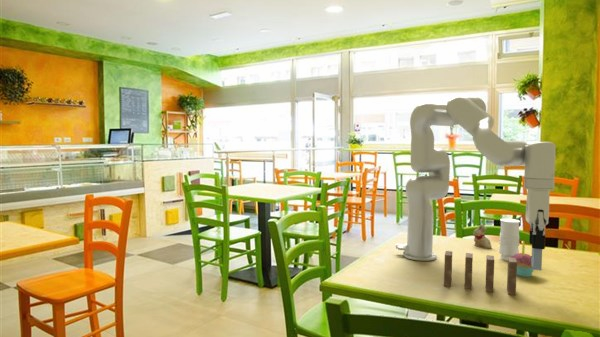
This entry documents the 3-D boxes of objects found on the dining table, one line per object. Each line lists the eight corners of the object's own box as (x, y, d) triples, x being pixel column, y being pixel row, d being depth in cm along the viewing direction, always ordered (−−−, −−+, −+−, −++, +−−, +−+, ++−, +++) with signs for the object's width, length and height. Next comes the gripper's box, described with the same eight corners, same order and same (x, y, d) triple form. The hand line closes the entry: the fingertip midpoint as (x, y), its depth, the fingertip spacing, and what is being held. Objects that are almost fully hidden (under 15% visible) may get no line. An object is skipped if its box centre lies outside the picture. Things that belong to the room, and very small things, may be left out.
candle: (512, 256, 162) (513, 218, 161) (522, 261, 155) (523, 222, 154) (495, 256, 162) (496, 218, 161) (504, 261, 155) (505, 222, 154)
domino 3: (485, 291, 124) (487, 259, 123) (485, 286, 128) (486, 255, 128) (493, 292, 123) (494, 260, 122) (492, 287, 128) (493, 255, 127)
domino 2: (464, 288, 126) (465, 257, 125) (464, 283, 131) (465, 252, 130) (471, 289, 125) (472, 257, 125) (471, 284, 130) (472, 253, 129)
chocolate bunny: (483, 244, 181) (484, 221, 180) (493, 248, 173) (494, 225, 172) (471, 244, 180) (472, 221, 180) (480, 248, 173) (481, 225, 172)
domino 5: (533, 269, 118) (534, 235, 118) (531, 264, 123) (532, 231, 122) (541, 270, 118) (542, 235, 117) (538, 265, 122) (540, 232, 122)
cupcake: (536, 280, 134) (538, 244, 133) (507, 275, 138) (508, 240, 138) (537, 273, 141) (539, 238, 140) (509, 269, 146) (511, 235, 145)
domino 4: (508, 294, 121) (509, 261, 121) (506, 289, 126) (508, 257, 125) (515, 295, 121) (517, 262, 120) (514, 290, 125) (515, 257, 125)
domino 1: (443, 286, 128) (444, 254, 128) (444, 281, 133) (445, 250, 132) (450, 287, 128) (451, 255, 127) (451, 281, 132) (452, 251, 132)
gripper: (521, 181, 128) (519, 238, 129) (527, 186, 112) (525, 252, 113) (548, 182, 125) (546, 241, 126) (559, 187, 109) (557, 255, 111)
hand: (536, 245), depth 120 cm, fingers closed on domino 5, 4 cm apart
